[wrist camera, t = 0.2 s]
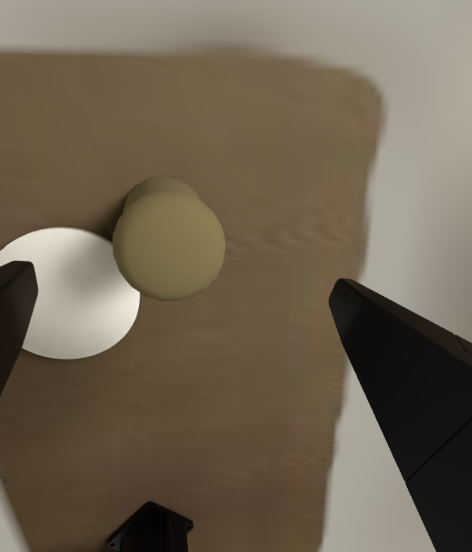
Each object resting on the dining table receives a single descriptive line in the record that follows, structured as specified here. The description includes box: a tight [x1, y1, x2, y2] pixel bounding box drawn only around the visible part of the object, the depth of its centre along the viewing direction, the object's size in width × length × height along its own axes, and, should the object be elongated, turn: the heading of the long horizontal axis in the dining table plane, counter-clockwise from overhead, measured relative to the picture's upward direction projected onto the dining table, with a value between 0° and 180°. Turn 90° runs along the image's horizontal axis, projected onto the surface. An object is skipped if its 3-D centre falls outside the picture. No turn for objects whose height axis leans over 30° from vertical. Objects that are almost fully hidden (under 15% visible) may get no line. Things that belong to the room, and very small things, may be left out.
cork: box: [113, 176, 225, 301], centre depth 18 cm, size 6×6×11 cm
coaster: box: [0, 226, 140, 359], centre depth 23 cm, size 10×10×1 cm
